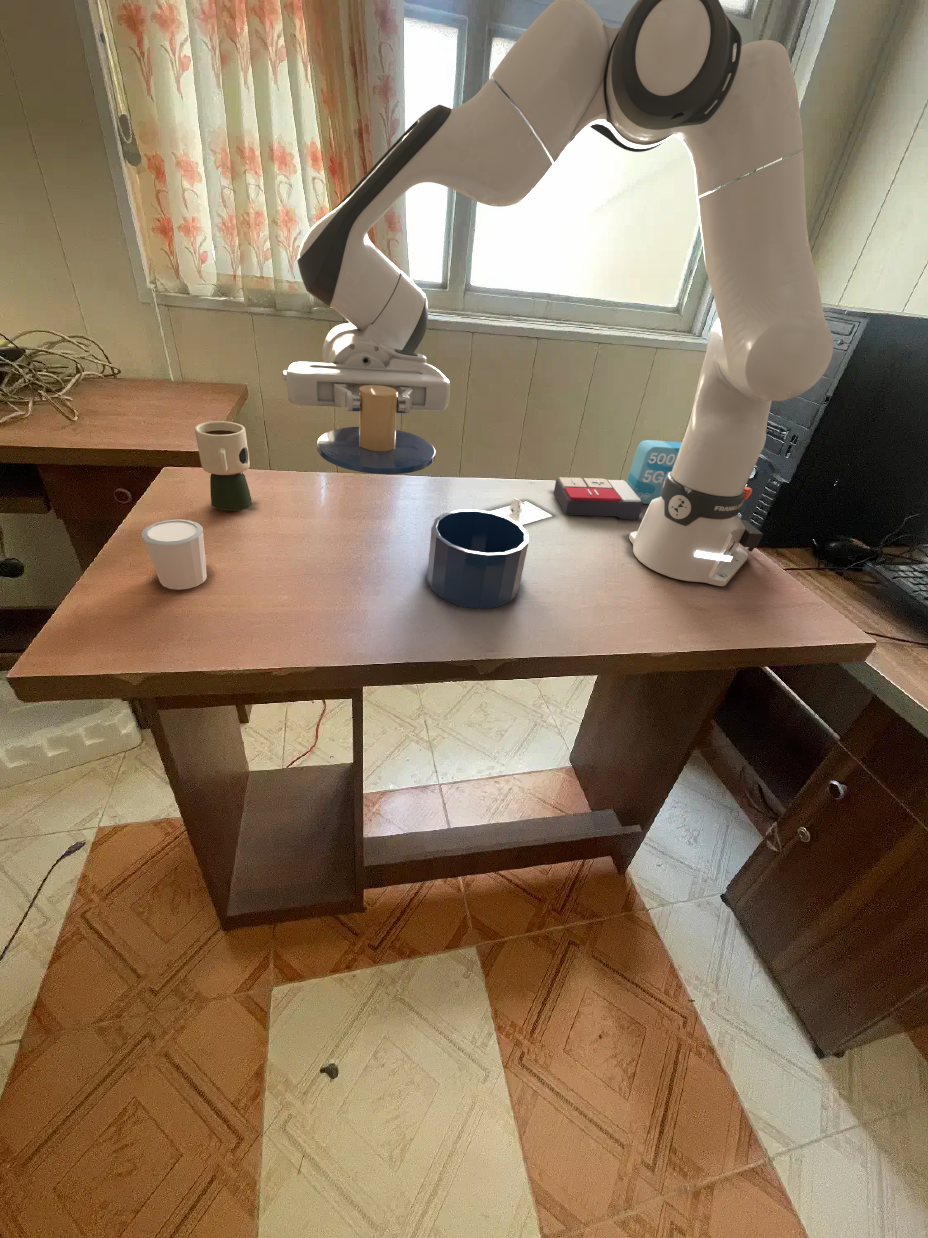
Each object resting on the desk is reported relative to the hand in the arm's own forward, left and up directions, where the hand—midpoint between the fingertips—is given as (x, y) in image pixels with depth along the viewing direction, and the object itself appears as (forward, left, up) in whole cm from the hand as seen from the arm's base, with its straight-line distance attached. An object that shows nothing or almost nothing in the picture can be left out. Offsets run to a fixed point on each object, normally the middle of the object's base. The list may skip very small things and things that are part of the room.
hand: (380, 405), depth 61 cm
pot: (-12, +8, -24) cm, 28 cm away
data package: (-68, +2, -24) cm, 72 cm away
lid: (0, -1, -6) cm, 6 cm away
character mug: (+9, -30, -24) cm, 40 cm away
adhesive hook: (-36, -6, -24) cm, 44 cm away
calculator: (-53, -2, -24) cm, 58 cm away
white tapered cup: (+22, -12, -24) cm, 35 cm away
